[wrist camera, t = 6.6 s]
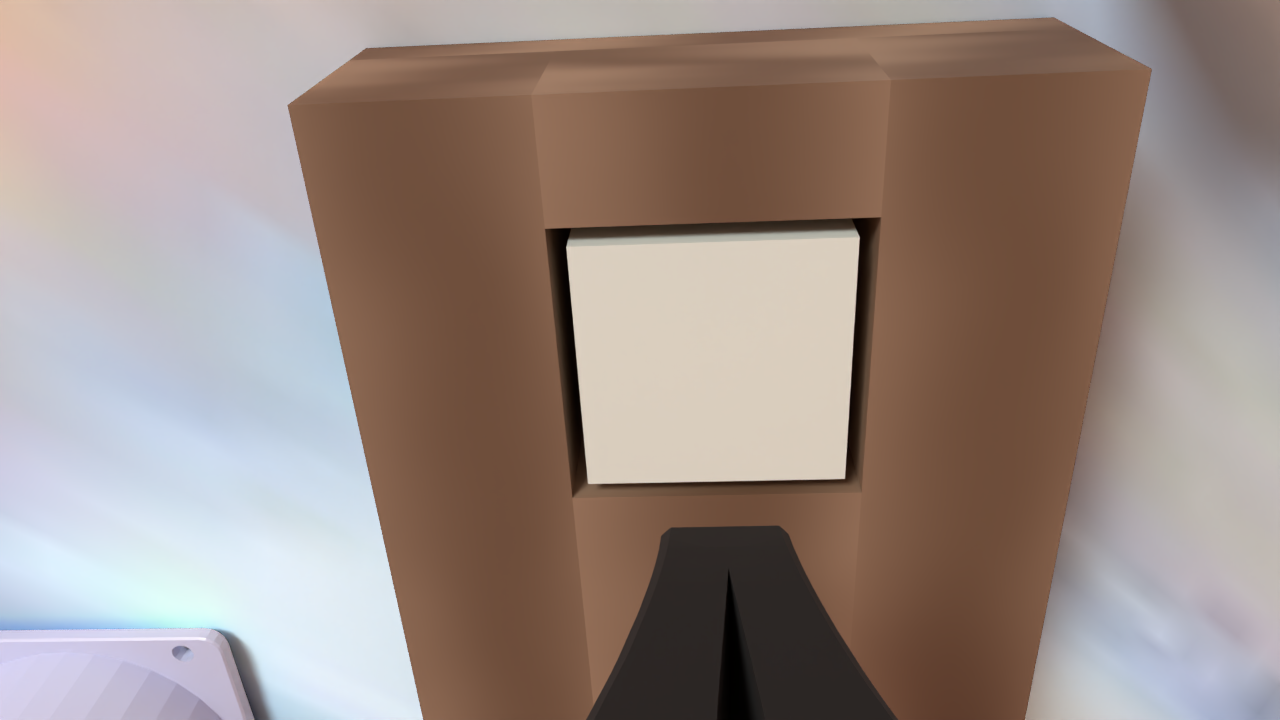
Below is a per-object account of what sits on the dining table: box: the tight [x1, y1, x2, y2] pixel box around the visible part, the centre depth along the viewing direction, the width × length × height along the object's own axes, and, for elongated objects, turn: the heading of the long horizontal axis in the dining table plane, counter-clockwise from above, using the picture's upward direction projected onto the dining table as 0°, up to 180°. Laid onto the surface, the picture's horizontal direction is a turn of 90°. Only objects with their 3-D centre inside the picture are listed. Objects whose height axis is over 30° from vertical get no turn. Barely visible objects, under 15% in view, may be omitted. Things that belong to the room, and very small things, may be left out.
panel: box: [288, 18, 1152, 720], centre depth 20 cm, size 12×20×4 cm, turn 3°
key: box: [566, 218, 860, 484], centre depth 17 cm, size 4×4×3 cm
